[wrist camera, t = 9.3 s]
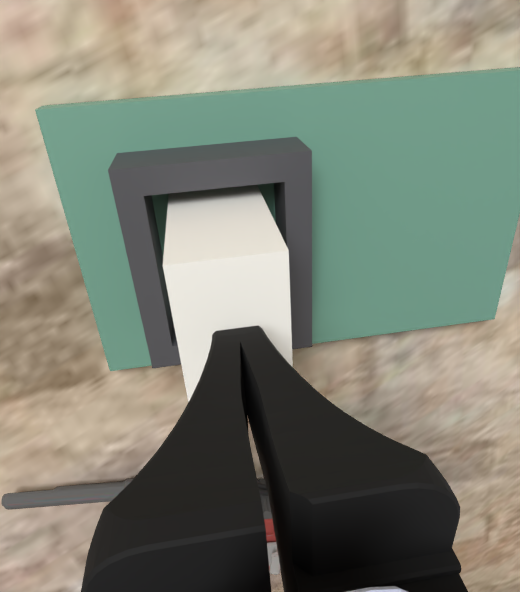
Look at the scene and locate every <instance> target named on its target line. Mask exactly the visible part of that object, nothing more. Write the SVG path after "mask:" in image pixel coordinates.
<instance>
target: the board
mask: <svg viewBox="0 0 520 592" xmlns="http://www.w3.org/2000/svg"><path fill="white" fill-rule="evenodd" d="M35 111H36V114H37V118H38V121H39V125H40V128H41V132H42V135H43V139H44V142H45V146H46V149H47V153H48V156H49V160H50V163H51V167H52V170H53V174H54V177H55V181H56V184H57V188H58V191H59V195H60V198H61V202H62V205H63V209H64V212H65V216H66V219H67V223H68V226H69V230H70V233H71V237H72V240H73V244H74V247H75V251H76V254H77V258H78V261H79V265H80V268H81V271H82V275H83V278H84V282H85V285H86V289H87V292H88V296H89V299H90V303H91V306H92V310H93V313H94V317H95V320H96V324H97V327H98V331H99V334H100V338H101V341H102V345H103V348H104V352H105V355H106V359H107V362H108V366H109V369H110V371H115V370H122V369H130V368H137V367H144V366H152V368H159V367H166V366H173V365H181V360H180V355H179V349H178V344H177V339H176V334H175V328H174V323H173V318H172V312H171V307H170V302H169V297H168V291H167V286H166V281H165V276H164V270H163V255H164V243H165V232H166V220H167V208H168V197H169V193H179V192H189V191H199V190H208V189H218V188H228V187H238V186H248V185H257V186H258V188H259V190H260V192H261V194H262V196H263V198H264V200H265V202H266V204H267V206H268V209H269V211H270V213H271V215H272V217H273V219H274V221H275V223H276V225H277V227H278V229H279V231H280V233H281V236H282V238H283V240H284V242H285V244H286V246H287V248H288V250H289V273H290V303H291V332H292V349H298V348H305V347H312V344H314V343H322V342H329V341H336V340H344V339H351V338H358V337H366V336H373V335H381V334H388V333H395V332H403V331H410V330H417V329H425V328H432V327H440V326H447V325H454V324H462V323H469V322H477V321H484V320H491V319H495V315H496V310H497V306H498V302H499V298H500V294H501V289H502V285H503V281H504V277H505V273H506V268H507V264H508V260H509V256H510V252H511V247H512V243H513V239H514V235H515V231H516V226H517V222H518V218H519V214H520V67H517V68H504V69H492V70H480V71H467V72H455V73H442V74H430V75H418V76H405V77H393V78H381V79H368V80H356V81H344V82H331V83H319V84H306V85H294V86H282V87H269V88H257V89H245V90H232V91H220V92H207V93H195V94H183V95H170V96H158V97H146V98H133V99H121V100H109V101H96V102H84V103H71V104H59V105H47V106H41V107H39V108H38V109H36V110H35Z"/></svg>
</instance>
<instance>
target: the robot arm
mask: <svg viewBox="0 0 520 592" xmlns="http://www.w3.org/2000/svg"><path fill="white" fill-rule="evenodd" d="M247 415H248V418H247ZM248 419H249V423H250V426H251V430H252V434H253V438H254V442H255V445H256V449H257V453H258V456H259V460H260V464H261V468H262V471H263V475H264V479H265V483H266V487H267V492H268V496H269V502H270V508H271V514H272V520H273V526H274V532H275V538H276V544H277V550H278V557H279V563H280V569H281V575H282V581H283V588H284V592H468V591H467V589H466V587H465V585H464V583H463V581H462V579H461V577H460V575H459V573H460V572H461V565H460V562H459V561H458V559H457V557H456V555H455V553H454V551H453V549H452V545H453V541H454V537H455V533H456V530H457V526H458V522H459V518H460V506H459V503H458V501H457V498H456V496H455V495H454V493H453V491H452V490H451V488H450V486H449V484H448V483H447V481H446V480H445V479H444V477H443V476H442V474H441V473H440V472H439V470H438V469H437V468H436V467H435V465H434V464H433V463H432V461H431V460H430V459H429V457H428V456H427V455H426V454H423V453H421V452H419V451H417V450H414V449H412V448H410V447H408V446H405V445H403V444H401V443H398V442H396V441H394V440H392V439H390V438H388V437H386V436H384V435H382V434H380V433H378V432H376V431H374V430H373V429H371V428H369V427H367V426H365V425H364V424H362V423H361V422H359V421H357V420H356V419H354V418H353V417H351V416H350V415H348V414H346V413H345V412H343V411H342V410H341V409H339V408H338V407H336V406H335V405H334V404H332V403H331V402H330V401H329V400H327V399H326V398H325V397H324V396H322V395H321V394H320V393H319V392H318V391H316V390H315V389H314V388H313V387H312V386H311V385H310V384H309V383H308V382H307V381H306V380H305V379H303V378H302V377H301V376H300V375H299V374H298V373H297V372H296V371H295V369H294V368H293V367H292V366H291V365H290V364H289V363H288V362H287V361H286V360H285V358H284V357H283V356H282V355H281V354H280V353H279V351H278V350H277V349H276V348H275V346H274V345H273V344H272V342H271V341H270V340H269V338H268V337H267V335H266V334H265V332H264V330H263V329H262V328H261V327H260V326H259V325H258V326H250V327H242V328H234V329H227V330H219V331H215V332H214V333H213V334H212V342H211V347H210V351H209V354H208V358H207V361H206V364H205V366H204V369H203V372H202V374H201V377H200V379H199V382H198V384H197V386H196V388H195V390H194V392H193V395H192V397H191V399H190V401H189V403H188V405H187V406H186V408H185V410H184V412H183V414H182V415H181V417H180V419H179V420H178V422H177V424H176V425H175V427H174V428H173V430H172V431H171V432H170V434H169V435H168V437H167V438H166V440H165V441H164V443H163V444H162V445H161V447H160V448H159V449H158V451H157V452H156V453H155V454H154V456H153V457H152V458H151V459H150V460H149V462H148V463H147V464H146V465H145V466H144V467H143V469H142V470H141V471H140V472H139V473H138V475H137V476H136V477H135V478H134V479H133V480H132V481H131V482H130V483H129V484H128V485H127V486H126V487H125V488H124V489H123V490H122V491H121V492H120V493H119V494H118V495H117V496H116V497H115V498H114V499H113V500H112V501H111V502H110V503H109V504H108V505H107V506H106V507H105V508H104V509H103V511H102V514H101V516H100V519H99V521H98V524H97V527H96V530H95V533H94V536H93V539H92V542H91V545H90V549H89V552H88V556H87V561H86V566H85V572H84V578H83V584H82V589H81V592H271V584H270V572H269V561H268V549H267V537H266V528H265V521H264V515H263V509H262V503H261V497H260V493H259V488H258V483H257V478H256V473H255V468H254V463H253V458H252V453H251V448H250V442H249V437H248Z"/></svg>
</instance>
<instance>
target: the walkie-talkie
mask: <svg viewBox="0 0 520 592" xmlns="http://www.w3.org/2000/svg"><path fill="white" fill-rule="evenodd" d="M133 479H134V478H131V479H126V480H125V481H123V482H110V483H97V484H84V485H72V486H59V487H56V488H55V489H54V490H44V491H32V492H20V493H8V494H4V495H3V497H2V505H3V506H4V507H5V508H6V509H22V508H34V507H46V506H59V505H71V504H83V503H96V502H108V501H112V500H113V499H114V498H115V497H116V496H117V495H118V494H119V493H120V492H121V491H122V490H123V489H124V488H125V487H126V486H127V485H128V484H129V483H130V482H131V481H132V480H133ZM257 483H258V488H259V493H260V497H261V503H262V509H263V515H264V521H265V528H266V537H267V549H268V561H269V571H270V574H276V575H278V574H279V573H280V570H281V569H280V563H279V557H278V550H277V544H276V538H275V532H274V526H273V520H272V514H271V508H270V502H269V496H268V492H267V487H266V483H265V479H259V480H257Z"/></svg>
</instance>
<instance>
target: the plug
mask: <svg viewBox="0 0 520 592" xmlns="http://www.w3.org/2000/svg"><path fill="white" fill-rule="evenodd" d="M163 270H164V276H165V281H166V286H167V291H168V297H169V302H170V307H171V312H172V318H173V323H174V328H175V334H176V339H177V344H178V349H179V355H180V360H181V365H182V370H183V376H184V381H185V386H186V391H187V397H188V402H189V401H190V399H191V397H192V395H193V392H194V390H195V388H196V386H197V384H198V382H199V379H200V377H201V374H202V372H203V369H204V366H205V364H206V361H207V358H208V354H209V351H210V347H211V342H212V334H213V333H214V332H215V331H219V330H227V329H234V328H242V327H250V326H258V325H259V326H260V327H261V328H262V329H263V330H264V332H265V334H266V335H267V337H268V338H269V340H270V341H271V342H272V344H273V345H274V346H275V348H276V349H277V350H278V351H279V353H280V354H281V355H282V356H283V357H284V358H285V360H286V361H287V362H288V363H289V364H290V365H291V366H292V367H293V361H292V332H291V303H290V273H289V250H288V248H287V246H286V244H285V242H284V240H283V238H282V236H281V233H280V231H279V229H278V227H277V225H276V223H275V221H274V219H273V217H272V215H271V213H270V211H269V209H268V206H267V204H266V202H265V200H264V198H263V196H262V194H261V192H260V190H259V188H258V186H257V185H248V186H238V187H228V188H218V189H208V190H199V191H189V192H179V193H169V197H168V208H167V220H166V232H165V243H164V255H163Z"/></svg>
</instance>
